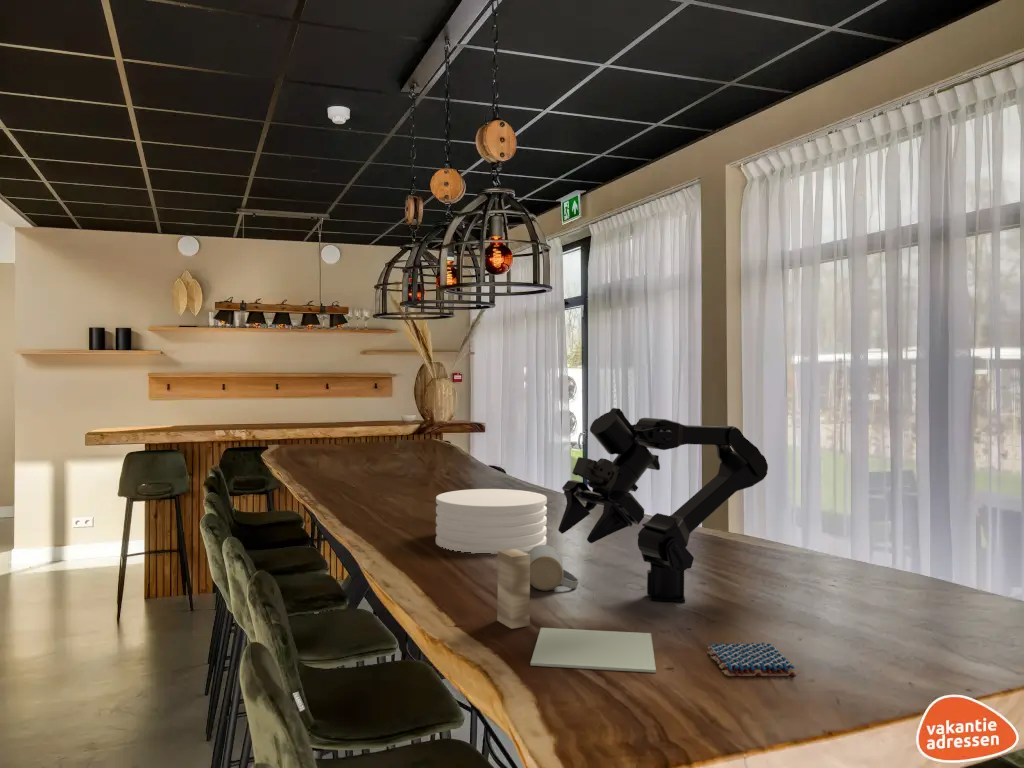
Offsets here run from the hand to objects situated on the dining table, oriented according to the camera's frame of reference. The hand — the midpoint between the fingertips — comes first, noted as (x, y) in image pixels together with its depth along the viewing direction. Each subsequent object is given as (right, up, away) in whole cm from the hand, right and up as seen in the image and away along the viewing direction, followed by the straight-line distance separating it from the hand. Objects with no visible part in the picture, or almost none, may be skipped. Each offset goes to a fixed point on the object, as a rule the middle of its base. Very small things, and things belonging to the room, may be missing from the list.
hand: (574, 536), depth 140 cm
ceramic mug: (-3, -14, +18) cm, 23 cm away
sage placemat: (+2, -14, -18) cm, 23 cm away
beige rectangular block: (-11, -14, -6) cm, 18 cm away
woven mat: (+24, -15, -23) cm, 37 cm away
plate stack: (-16, -13, +60) cm, 63 cm away
